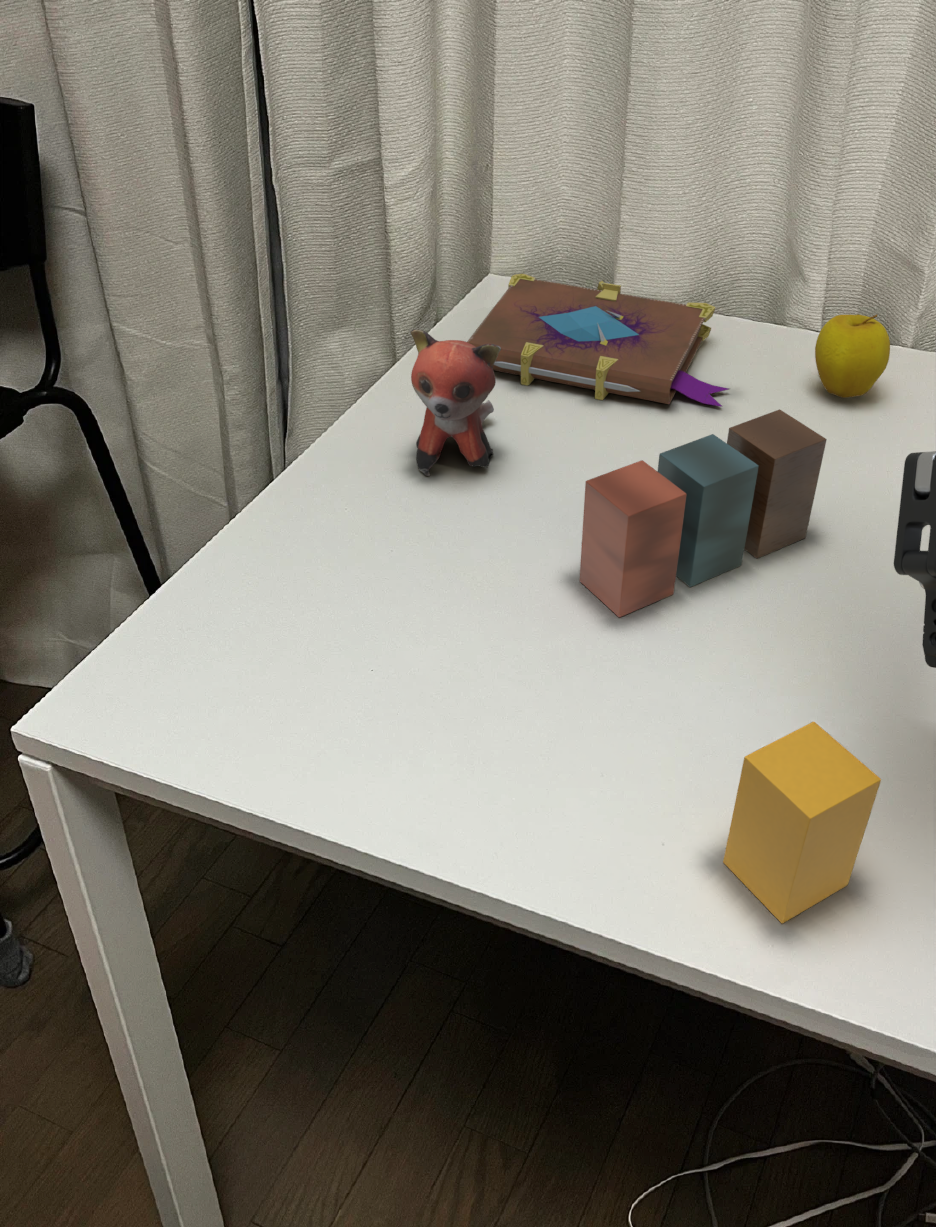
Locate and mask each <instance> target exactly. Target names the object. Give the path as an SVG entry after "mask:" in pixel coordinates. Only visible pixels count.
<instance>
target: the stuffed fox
mask: <svg viewBox="0 0 936 1227" xmlns="http://www.w3.org/2000/svg"><path fill="white" fill-rule="evenodd" d="M410 334H411V337H412V339H413V342H414V344H415V347H416V350H417V357H416V360H415V362H414V364H413V366H412V370H411V374H410V382H411V386H412V388H413V390H414V392H415V394H416V395H417V397H418V398H419V399H420V400H421V402H422V403H423V404H424V406H425V407H426V408H425V413H424V417H423V423H422V427H421V430H420V433H419V436H418V438H417V440H416V444H415V445H416V448H417V450H416V456H415V460H416V465H417V468H418V470H419V471H420V472H421V473H422V474H423V475H424V476H425V477H430V476H431V473H430V469H431V468H432V467H433V466H434V465H435V464H436V462H437V461H438V460H439V458H440V456H441V454H442V453H441V452H442V450H443V448H444V445H445V443H446V441H447V439H449V438H452V439H453V440H454V441H455V442H456V444H457V445H458V449H459V452H460V453H461V455H463V457H464V458H465V459H466V461H467V464H468V466H470V467H473V468H474V467H479V468H481V467H482V468H485V469H488V466H489V465H490V459H491V457H492V456H493V455H494V448H491V446H490V442H489V440H488V437H487V434H486V433H485V429H484V427H483V423H484V422H485V420H486V419H487V418H488V416H490V414H493V413H494V412H495V408H494V405H493V403H492V402H491V401H490V400H487V399H488V397H489V395H490V394H491V393H492V391H493V390H494V388H495V386H496V376H495V370H493V365H494V363H495V361H496V359H497V357H498V353H499V352H500V350H501V347H500V346H497V345H494V344H485V345H482V346H479V347H475V346H474V345H472V344H470V343H468V342H467V341H465V340H458V339H448V340H447V339H446V340H437V339H435V338H434V337H433V336H432V335H431V334H429V333H428V332H426V331H425V330H422V329H412V330H411V331H410ZM486 400H487V401H486Z"/></svg>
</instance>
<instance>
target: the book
mask: <svg viewBox="0 0 936 1227" xmlns="http://www.w3.org/2000/svg"><path fill="white" fill-rule="evenodd" d="M507 287H508V288H507V289H506V291H505V292H504V293H503V294H502V296H501V297H500V298H499V300H498V301H497V302H496V304H494V306H493V307H492V309H491V310H490V311H489V312H488V314H487V315H486V316H485V318H484V319H483V320H482V322H481V323H480V324H479V325H478V327H477V328H476V330H475V331H474V332H473V333H472V334H471V336H470V337H469V338H468V340H467V341H466V342H468V343H470V344H472V345H474V346H475V347H479V346H482V345H485V344H494V345H497V346H500V347H501V350H500V352H499V353H498V357H497V359H496V361H495V363H494V365H493V371H494V372H499V373H506V374H511V375H516V376H520V385H522V386H530V384H531V383H532V382H533V381H534V380H535V379H536V380H541V381H547V382H551V383H558V384H563V385H567V386H572V387H577V388H583V389H588V390H593V391H595V392H594V399H595V400H598V401H599V400H600V401H603V400H604V399H605V398H606V397H607V396H608V394H614V395H618V396H624V397H629V398H635V399H640V400H645V401H648V402H649V401H650V402H654V403H655V402H656V403H659V404H665V405H670V404H671V403H672V400H673V398H674V397H675V394H676V393H677V392H679V393H680V394H682V395H684V396H685V397H687V398H689V399H690V400H693V401H696V402H698V403H700V404H703V405H710V406H716V407H722V408H723V406H724V405H722V404H721V403H720V402H719V401H717V399H715V398H714V397H713V396H712V395H713V394H717V393H720V392H725V391H728V390H730V388H728V387H723V386H719V385H714V384H711V383H707V382H705V381H703V380H701V379H698V378H696V377H695V376H693V375H691V374H689V373H687V372H688V369H689V367H690V365H691V363H692V362H693V359H694V358H695V356H696V354H697V352H698V350H699V348H700V346H701V344H702V343H703V342H704V341H705V340H706V339H707V338H709V336H710V334H711V331H712V327H711V326H708V325H706V324H705V323H707V322H708V321H709V320H710V319H711V318H712V317H713V316H714V313H715V311H716V306H714V305H711V304H710V303H707V302H690V301H689V302H687V303H686V304H684V303H679V302H674V301H667V300H661V299H655V298H648V297H643V296H638V295H637V296H636V295H631V294H626V293H621V291H622V290H621V289H622V285H621V284H613V283H610V282H604V281H603V280H600V281H598V284H597V287H596V288H597V289H596V288H589V287H583V286H577V285H573V284H572V285H571V284H566V283H559V282H555V281H548V280H543V279H542V280H541V279H536V277H534V276H532V275H528V274H525V273H516V274H512V275H511V276H510V279H509V282H508V284H507Z"/></svg>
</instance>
